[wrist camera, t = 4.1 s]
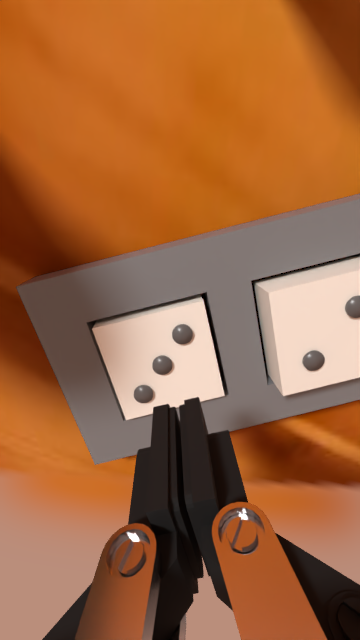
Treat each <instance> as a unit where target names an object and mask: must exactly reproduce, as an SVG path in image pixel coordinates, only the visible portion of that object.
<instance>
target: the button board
mask: <svg viewBox="0 0 360 640" xmlns="http://www.w3.org/2000/svg"><path fill="white" fill-rule="evenodd" d="M358 255H360V194H356V195H353V196H349V197H345V198H341V199H337V200H333V201H329V202H325V203H321V204H317V205H313V206H310V207H306V208H302V209H298V210H294V211H290V212H286V213H282V214H278V215H274V216H270V217H267V218H263V219H259V220H255V221H251V222H247V223H243V224H239V225H235V226H231V227H227V228H224V229H220V230H216V231H212V232H208V233H204V234H200V235H196V236H192V237H188V238H184V239H181V240H177V241H173V242H169V243H165V244H161V245H157V246H153V247H149V248H145V249H142V250H138V251H134V252H130V253H126V254H122V255H118V256H114V257H110V258H106V259H102V260H99V261H95V262H91V263H87V264H83V265H79V266H75V267H71V268H67V269H63V270H59V271H56V272H52V273H48V274H44V275H40V276H36V277H34V278H32V279H30V280H28V281H26V282H24V283H22V284H20V285H18V286H17V287H16V288H17V291H18V293H19V295H20V297H21V300H22V302H23V304H24V306H25V309H26V311H27V313H28V315H29V317H30V320H31V322H32V324H33V326H34V329H35V331H36V333H37V335H38V338H39V340H40V342H41V344H42V347H43V349H44V351H45V353H46V356H47V358H48V360H49V362H50V365H51V367H52V369H53V371H54V373H55V376H56V378H57V380H58V382H59V385H60V387H61V389H62V391H63V394H64V396H65V398H66V400H67V403H68V405H69V407H70V409H71V412H72V414H73V416H74V418H75V421H76V423H77V425H78V427H79V429H80V432H81V434H82V436H83V438H84V441H85V443H86V445H87V447H88V450H89V452H90V454H91V456H92V459H93V461H94V463H95V465H96V464H100V463H104V462H108V461H112V460H116V459H120V458H124V457H128V456H132V455H136V454H137V452H138V450H139V449H142V448H147V447H150V446H151V432H152V419H153V414H149V415H145V416H141V417H137V418H133V419H129V420H126V419H125V416H124V413H123V411H122V408H121V405H120V403H119V400H118V397H117V395H116V392H115V389H114V386H113V384H112V381H111V378H110V376H109V373H108V370H107V368H106V365H105V362H104V360H103V357H102V354H101V352H100V349H99V346H98V344H97V341H96V338H95V336H94V333H93V330H92V328H93V326H94V324H95V323H96V321H97V320H98V319H102V318H106V317H110V316H114V315H118V314H122V313H126V312H130V311H134V310H138V309H142V308H146V307H149V306H153V305H157V304H161V303H165V302H169V301H173V300H177V299H181V298H185V297H189V296H193V295H197V294H201V293H203V296H204V300H205V305H206V309H207V314H208V318H209V323H210V327H211V332H212V336H213V341H214V345H215V350H216V354H217V359H218V363H219V368H220V373H221V374H220V377H221V381H222V386H223V390H224V395H225V396H222V397H218V398H213V399H209V400H205V401H201V402H200V403H201V407H202V410H203V414H204V418H205V422H206V426H207V430H208V434H211V433H216V432H220V431H225V430H228V431H229V432H230V431H234V430H238V429H242V428H246V427H250V426H254V425H258V424H262V423H266V422H270V421H275V420H279V419H283V418H287V417H291V416H295V415H299V414H303V413H307V412H311V411H315V410H319V409H323V408H327V407H332V406H336V405H340V404H344V403H348V402H352V401H356V400H360V377H359V378H355V379H351V380H347V381H343V382H339V383H335V384H331V385H327V386H322V387H318V388H314V389H310V390H306V391H302V392H298V393H294V394H290V395H286V396H283V395H282V394H281V392H280V391H279V389H278V388H277V387H276V385H275V384H274V382H273V381H272V379H271V378H270V376H269V375H268V371H267V365H266V363H264V359H263V353H262V346H261V340H260V334H259V328H258V321H257V315H256V309H255V302H254V296H253V290H252V284H251V281H252V280H256V279H260V278H264V277H268V276H272V275H276V274H280V273H284V272H288V271H292V270H296V269H300V268H304V267H308V266H312V265H315V264H319V263H323V262H327V261H331V260H335V259H339V258H343V257H346V258H350V257H354V256H358ZM176 410H177V414H178V417H179V420H180V412H179V407H177V408H176Z"/></svg>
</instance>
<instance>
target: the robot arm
mask: <svg viewBox="0 0 360 640" xmlns="http://www.w3.org/2000/svg"><path fill="white" fill-rule="evenodd" d="M179 412H180V420H179V417H178V414H177V410H176V407H170V405H169V404H165V405H160V406H156V407H154V408H153V419H152V432H151V446H150V447H147V448H142V449H139V450H138V452H137V458H136V466H135V474H134V482H133V490H132V498H131V506H130V514H129V522H128V525H126V526H124V527H122V528H120V529H119V530H118V531H117V532H115V533H114V534H113V535H112V536H111V538H110V539H109V540H108V542H107V543H106V545H105V547H104V549H103V551H102V554H101V557H100V560H99V563H98V566H97V570H96V573H95V576H94V579H93V582H92V583H91V585H90V586H89V587H88V588H87V589H86V590H85V592H84V593H83V594H82V595H81V596H80V597H79V598H78V599H77V601H76V602H75V603H74V604H73V605H72V606H71V607H70V609H69V610H68V611H67V612H66V613H65V614H64V615H63V617H62V618H61V619H60V620H59V621H58V622H57V624H56V625H55V626H54V627H53V628H52V629H51V630H50V632H49V633H48V634H47V635H46V636H45V637H44V638H43V639H42V640H185V635H186V612H187V610H188V609H189V607H190V606H191V604H192V602H193V594H195V593H198V581H197V579H198V578H203V563H202V557H203V560H204V563H205V566H206V569H207V572H208V575H209V576H211V579H212V582H213V585H214V588H215V591H216V594H217V597H218V598H219V599H220V600H221V601H223V602H224V603H225V604H226V605H227V606H228V607H229V608H230V609H231V610H233V612H234V616H235V619H236V623H237V626H238V630H239V633H240V637H241V640H360V585H359V584H357V583H355V582H354V581H352V580H351V579H349V578H347V577H346V576H344V575H342V574H341V573H339V572H338V571H336V570H334V569H333V568H331V567H330V566H328V565H326V564H325V563H323V562H322V561H320V560H318V559H317V558H315V557H314V556H312V555H310V554H309V553H307V552H305V551H304V550H302V549H301V548H299V547H297V546H296V545H294V544H292V543H291V542H289V541H288V540H286V539H284V538H283V537H281V536H280V535H278V534H276V533H275V532H274V530H273V528H272V526H271V524H270V522H269V520H268V518H267V517H266V515H265V514H264V512H263V511H262V510H260V509H259V508H258V507H257V506H255V505H252V504H250V503H248V501H247V497H246V493H245V490H244V486H243V482H242V478H241V475H240V471H239V467H238V464H237V460H236V456H235V453H234V449H233V445H232V442H231V438H230V434H229V431H228V430H225V431H220V432H216V433H211V434H208V430H207V426H206V422H205V418H204V414H203V410H202V407H201V403H200V399H199V397H196V398H191V399H187V400H184V404H183V405H179Z"/></svg>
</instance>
